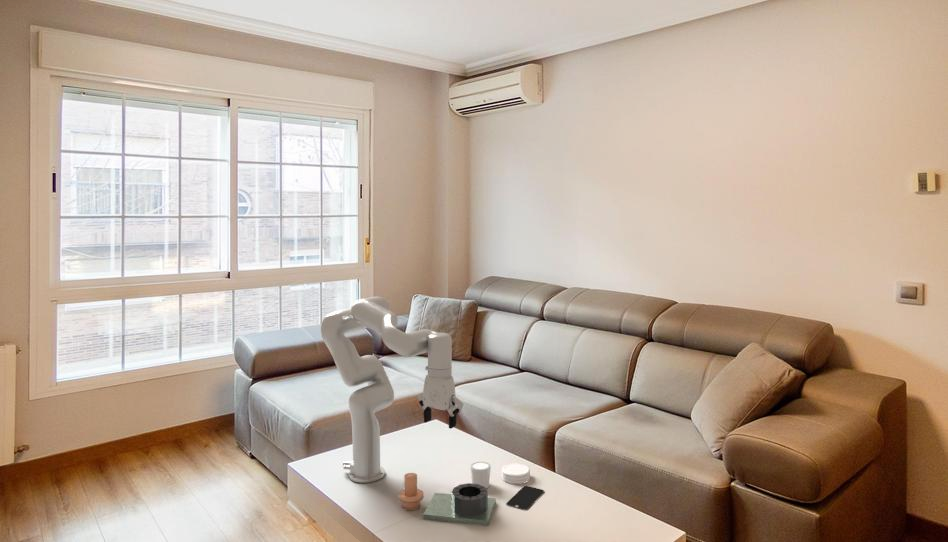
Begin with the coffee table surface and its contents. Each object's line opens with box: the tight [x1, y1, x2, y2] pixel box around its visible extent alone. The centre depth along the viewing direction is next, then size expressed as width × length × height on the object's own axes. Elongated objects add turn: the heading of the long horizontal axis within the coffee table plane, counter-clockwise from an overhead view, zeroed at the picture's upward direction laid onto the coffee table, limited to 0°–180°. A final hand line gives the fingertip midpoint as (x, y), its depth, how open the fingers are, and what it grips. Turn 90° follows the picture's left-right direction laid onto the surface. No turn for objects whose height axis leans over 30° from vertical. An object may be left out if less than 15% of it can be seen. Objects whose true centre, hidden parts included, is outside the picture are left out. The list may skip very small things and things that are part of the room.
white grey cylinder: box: [470, 461, 492, 489], centre depth 197 cm, size 7×7×7 cm
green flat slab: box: [422, 482, 497, 527], centre depth 180 cm, size 20×14×6 cm
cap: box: [397, 472, 425, 511], centre depth 183 cm, size 8×8×10 cm
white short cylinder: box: [501, 463, 531, 485], centre depth 203 cm, size 10×10×4 cm
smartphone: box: [505, 485, 545, 511], centre depth 188 cm, size 8×1×15 cm
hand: (439, 424), depth 186 cm, fingers open, 9 cm apart
